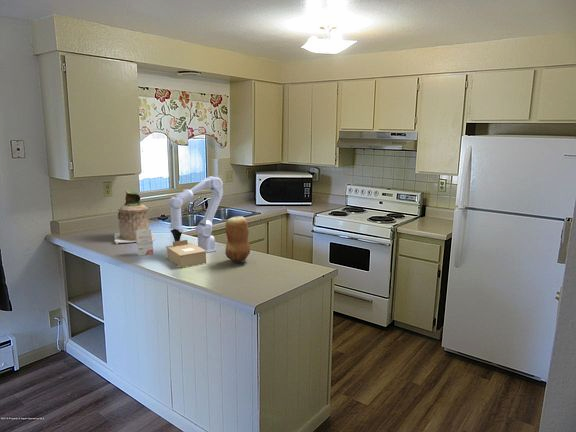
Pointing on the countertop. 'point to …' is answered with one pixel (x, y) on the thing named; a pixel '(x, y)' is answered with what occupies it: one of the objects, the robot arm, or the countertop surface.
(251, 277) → the countertop surface
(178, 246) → the mailer lid
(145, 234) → the ink cartridge box
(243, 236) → the butternut squash
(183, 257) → the mailer box
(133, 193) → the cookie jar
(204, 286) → the countertop surface
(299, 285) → the countertop surface
